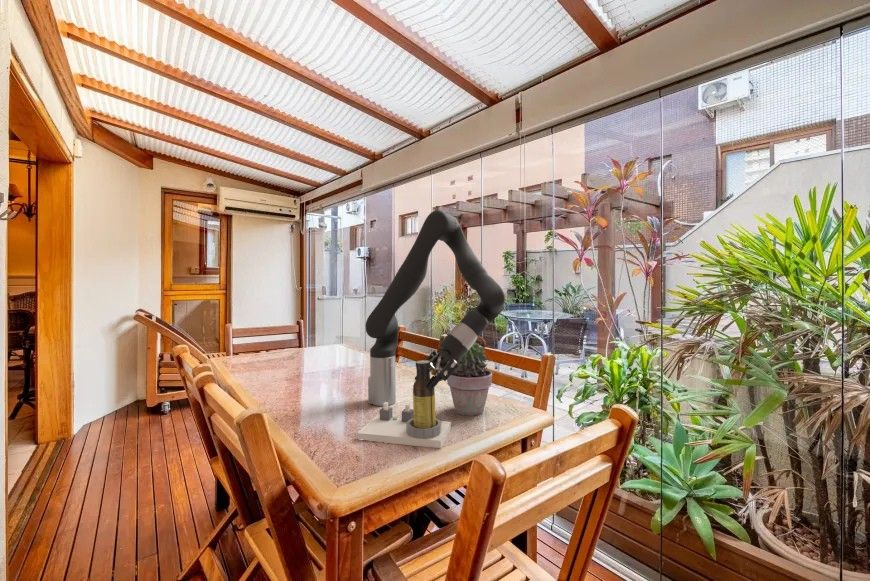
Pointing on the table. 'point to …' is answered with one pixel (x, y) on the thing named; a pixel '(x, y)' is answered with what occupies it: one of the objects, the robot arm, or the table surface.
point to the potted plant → (471, 381)
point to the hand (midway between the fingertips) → (422, 384)
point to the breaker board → (403, 429)
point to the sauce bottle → (423, 398)
